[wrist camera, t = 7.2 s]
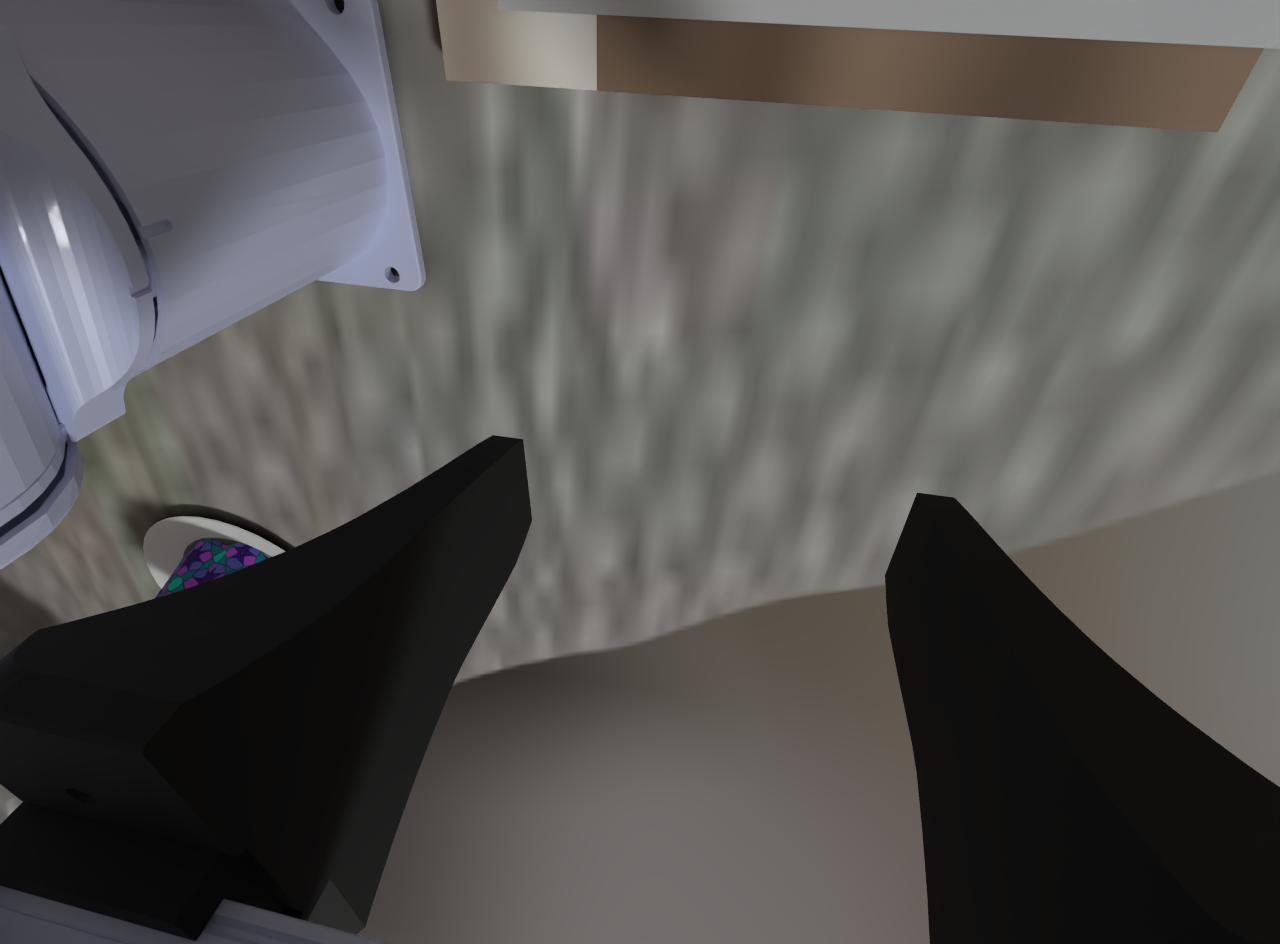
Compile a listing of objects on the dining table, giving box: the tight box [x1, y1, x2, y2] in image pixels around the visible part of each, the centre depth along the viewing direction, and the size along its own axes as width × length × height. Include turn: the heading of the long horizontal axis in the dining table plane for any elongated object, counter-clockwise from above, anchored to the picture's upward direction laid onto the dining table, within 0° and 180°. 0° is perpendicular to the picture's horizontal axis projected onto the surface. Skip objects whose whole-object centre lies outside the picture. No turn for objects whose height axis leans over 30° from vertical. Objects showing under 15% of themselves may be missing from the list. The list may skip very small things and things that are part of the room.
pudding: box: [143, 516, 285, 598], centre depth 32 cm, size 12×12×5 cm
